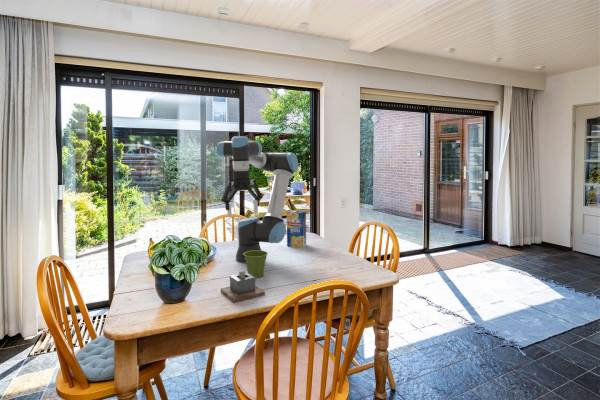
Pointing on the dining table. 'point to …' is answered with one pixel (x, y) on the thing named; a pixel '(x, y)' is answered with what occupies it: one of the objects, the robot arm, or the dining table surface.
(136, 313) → the dining table surface
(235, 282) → the grey square block
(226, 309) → the dining table surface
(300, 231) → the beverage box
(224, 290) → the stand
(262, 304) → the dining table surface
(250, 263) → the plant pot
